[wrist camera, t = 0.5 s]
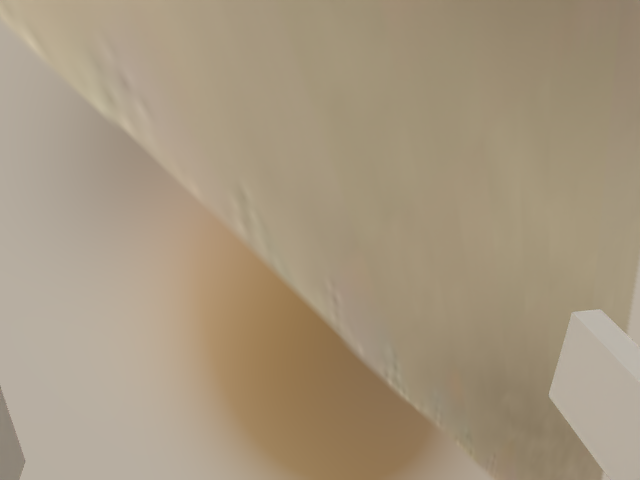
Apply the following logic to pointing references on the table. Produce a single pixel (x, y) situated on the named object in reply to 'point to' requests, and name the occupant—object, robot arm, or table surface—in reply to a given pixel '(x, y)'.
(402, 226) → the table surface
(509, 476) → the table surface
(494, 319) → the table surface
